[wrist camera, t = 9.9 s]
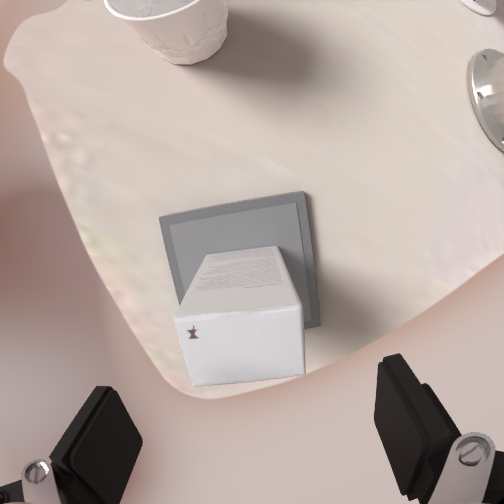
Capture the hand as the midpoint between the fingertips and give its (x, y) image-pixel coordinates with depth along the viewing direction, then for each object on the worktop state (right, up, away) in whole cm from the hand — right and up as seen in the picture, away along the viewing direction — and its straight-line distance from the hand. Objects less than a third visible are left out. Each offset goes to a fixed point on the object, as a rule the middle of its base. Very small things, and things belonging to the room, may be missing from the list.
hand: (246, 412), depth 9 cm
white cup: (-5, +25, +12) cm, 28 cm away
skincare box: (0, +4, +16) cm, 17 cm away
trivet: (-1, +4, +17) cm, 17 cm away
